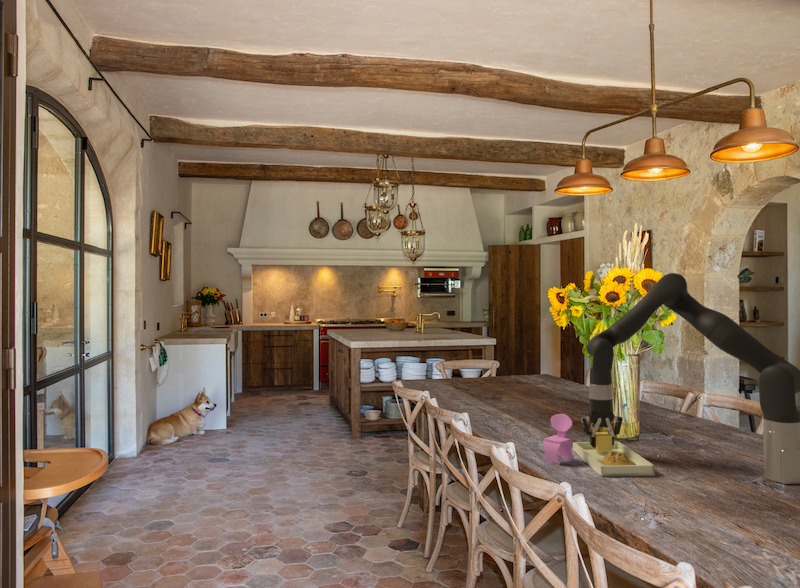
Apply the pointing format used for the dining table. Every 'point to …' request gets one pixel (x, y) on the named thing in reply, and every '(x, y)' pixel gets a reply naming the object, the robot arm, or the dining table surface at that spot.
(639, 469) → the tray
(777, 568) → the dining table surface
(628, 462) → the fossil
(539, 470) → the dining table surface
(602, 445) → the block
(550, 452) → the toy chair
